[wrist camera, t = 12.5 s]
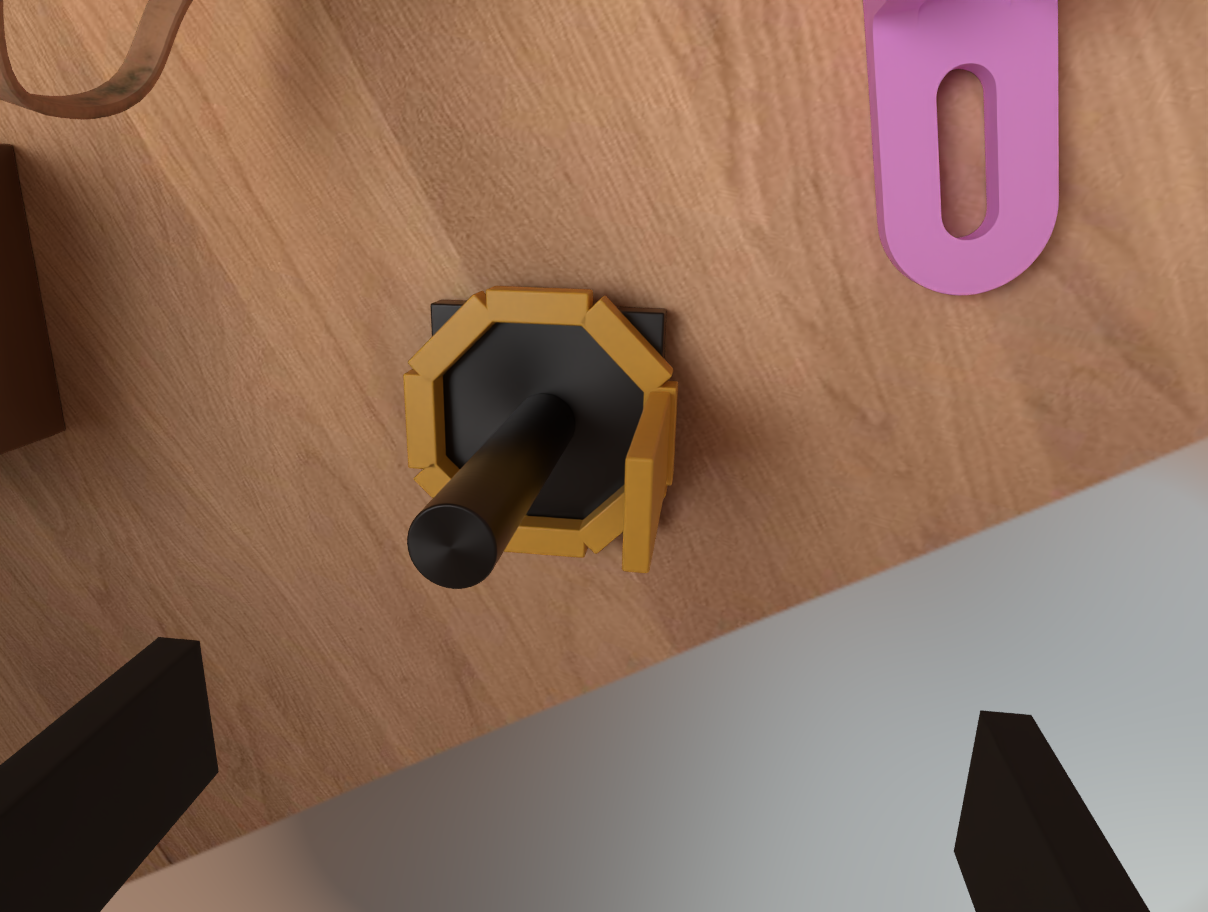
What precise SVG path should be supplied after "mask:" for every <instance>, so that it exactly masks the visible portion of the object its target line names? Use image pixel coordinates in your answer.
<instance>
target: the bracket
mask: <svg viewBox="0 0 1208 912" xmlns="http://www.w3.org/2000/svg"><path fill="white" fill-rule="evenodd" d="M863 6H864V21H865V37H866V52H867V68H868V83H869V99H870V114H871V130H872V145H873V161H874V176H875V192H876V207H877V223H878V231H879V236H880V240H881V243H882V246H883V248H884V250H885V252H886V254H887V256H888V258H889V259H890V261H891V262H892V263H893V265H894V266H895V267H896V268H897V269H898V270H899V271H900V272H901V273H902V274H903V275H905V276H906V277H907V278H909V279H910V280H912V281H914V282H916V283H918V284H920V285H922V286H924V287H926V288H928V289H931V290H933V291H936V292H940V293H944V294H950V295H971V294H978V293H982V292H986V291H989V290H992V289H995V288H997V287H1000V286H1002V285H1004V284H1006V283H1007V282H1009V281H1011V280H1013V279H1014V278H1015V277H1017V276H1018V275H1020V274H1021V273H1022V272H1023V271H1024V270H1026V269H1027V268H1028V267H1029V266H1030V265H1031V264H1032V263H1033V262H1034V261H1035V259H1036V258H1037V257H1038V256H1039V254H1040V253H1041V252H1042V250H1043V248H1044V247H1045V245H1046V244H1047V242H1048V240H1049V238H1050V236H1051V233H1052V231H1053V228H1054V225H1055V222H1056V218H1057V212H1058V203H1059V148H1058V0H863ZM954 69H964V70H968V71H970V72H972V73H973V74H975V75H976V76H977V77H978V78H979V80H980V81H981V84H982V86H983V91H984V120H985V156H986V191H987V212H986V216H985V219H984V221H983V223H982V224H981V225H980V227H979V228H978V229H977V230H976V231H974V232H973V233H971V234H970V235H968V236H965V237H961V238H955V237H953V236H952V235H950V234H949V233H948V232H947V231H946V229H945V228H944V226H943V223H942V218H941V197H940V174H939V151H938V128H937V105H936V95H937V90H938V87H939V84H940V82H941V80H942V79H943V77H944V76H945V75H946V74H947V73H948V72H949V71H950V70H954Z"/></svg>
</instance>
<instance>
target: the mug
mask: <svg viewBox="0 0 1208 912" xmlns="http://www.w3.org/2000/svg"><path fill="white" fill-rule="evenodd" d="M192 1H193V0H149V1H148V3H147V5H146V8H145V10H144V12H143V15H142V17H141V20H140V22H139V25H138V28H137V31H136V34H135V37H134V39H133V42H132V45H131V47H130V50H129V52H128V54H127V56H126V58H125V60H124V62H123V64H122V66H121V67H120V68H119V70H118V71H117V73H116V74H115V75H114V76H113V77H112V78H111V79H110V80H109V81H107V82H106V83H104V84H102V85H101V86H99V87H97V88H95V89H93V90H90V91H88V92H84V93H80V94H74V95H67V96H44V95H36V94H29V93H28V92H26V90H25V89H24V88H23V87H22V86H21V85H20V83H19V82H18V80H17V78H16V76H15V74H14V72H13V70H12V67H11V64H10V60H9V57H8V53H7V47H6V41H5V33H4V19H3V0H0V100H3V101H6V102H9V103H12V104H15V105H18V106H21V107H24V108H27V109H30V110H33V111H35V112H38V113H41V114H44V115H48V116H54V117H61V118H70V119H96V118H101V117H107V116H111V115H114V114H118V113H120V112H123V111H125V110H127V109H129V108H130V107H132V106H134V105H135V104H137V103H138V102H140V101H141V100H142V99H143V98H144V97H145V96H146V95H147V94H148V93H149V92H150V91H151V89H152V88H153V87H154V85H155V83H156V82H157V80H158V79H159V77H160V75H161V73H162V71H163V69H164V67H165V64H166V61H167V59H168V56H169V54H170V51H171V48H172V45H173V42H174V40H175V37H176V34H177V32H178V29H179V27H180V24H181V22H182V19H183V17H184V15H185V13H186V11H187V9H188V8H189V6H190V4H191V3H192Z"/></svg>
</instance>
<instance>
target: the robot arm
mask: <svg viewBox="0 0 1208 912" xmlns="http://www.w3.org/2000/svg"><path fill="white" fill-rule="evenodd" d="M218 772H219V771H218V764H217V757H216V750H215V743H214V737H213V730H212V723H211V716H210V709H209V703H208V696H207V689H206V682H205V675H204V668H203V662H202V655H201V648H200V641H196V640H185V639H174V638H163V637H158V638H157V639H156V640H155V641H153V642H152V643H151V644H150V645H148V646H147V647H146V648H145V649H143V650H142V651H141V652H140V653H138V654H137V655H136V656H135V657H134V658H132V659H131V660H130V661H129V662H127V663H126V664H125V665H124V666H122V667H121V668H120V669H119V670H117V671H116V672H115V673H114V674H113V675H111V676H110V677H109V678H108V679H106V680H105V681H104V682H103V683H101V684H100V685H99V686H98V687H96V688H95V689H94V690H93V691H92V692H90V693H89V694H88V695H87V696H85V697H84V698H83V699H82V700H80V701H79V702H78V703H77V704H75V705H74V706H73V707H72V708H70V709H69V710H68V711H67V712H66V713H64V714H63V715H62V716H61V717H59V718H58V719H57V720H56V721H54V722H53V723H52V724H51V725H49V726H48V727H47V728H46V729H45V730H43V731H42V732H41V733H40V734H38V735H37V736H36V737H35V738H33V739H32V740H31V741H30V742H28V743H27V744H26V745H25V746H24V747H22V748H21V749H20V750H19V751H17V752H16V753H15V754H14V755H12V756H11V757H10V758H9V759H7V760H6V761H5V762H4V763H2V764H1V765H0V912H100V911H101V910H102V909H103V907H104V906H105V905H106V904H107V903H108V902H109V901H110V899H111V898H112V897H113V896H114V895H115V893H116V892H117V891H118V890H119V889H120V888H121V886H122V885H123V884H124V883H125V882H126V881H127V879H128V878H129V877H130V876H131V875H132V873H133V872H134V871H135V870H136V869H137V868H138V866H139V865H140V864H141V863H142V862H143V860H144V859H145V858H146V857H147V856H148V855H149V853H150V852H151V851H152V850H153V849H154V848H155V846H156V845H157V844H158V843H159V842H160V840H161V839H162V838H163V837H164V836H165V835H166V833H167V832H168V831H169V830H170V829H171V827H172V826H173V825H174V824H175V823H176V822H177V820H178V819H179V818H180V817H181V816H182V814H183V813H184V812H185V811H186V810H187V809H188V807H189V806H190V805H191V804H192V803H193V802H194V800H195V799H196V798H197V797H198V796H199V794H200V793H201V792H202V791H203V790H204V789H205V787H206V786H207V785H208V784H209V783H210V781H211V780H212V779H213V778H214V777H215V776H216V774H217V773H218ZM954 853H955V856H956V859H957V861H958V864H959V867H960V869H961V872H962V875H963V878H964V881H965V883H966V886H967V889H968V892H969V894H970V897H971V900H972V903H973V905H974V908H975V911H976V912H1150V911H1149V909H1148V908H1147V906H1146V904H1145V903H1144V901H1143V899H1142V898H1141V896H1140V894H1139V893H1138V891H1137V889H1136V888H1135V886H1134V884H1133V883H1132V881H1131V879H1130V878H1129V876H1128V874H1127V873H1126V871H1125V869H1124V868H1123V866H1122V864H1121V863H1120V861H1119V860H1118V858H1117V856H1116V855H1115V853H1114V851H1113V849H1112V848H1111V846H1110V844H1109V843H1108V841H1107V840H1106V838H1105V836H1104V835H1103V833H1102V831H1101V830H1100V828H1099V826H1098V825H1097V823H1096V821H1095V820H1094V818H1093V816H1092V815H1091V813H1090V811H1089V810H1088V808H1087V806H1086V805H1085V803H1084V801H1083V800H1082V798H1081V796H1080V795H1079V793H1078V791H1077V790H1076V788H1075V786H1074V785H1073V783H1072V782H1071V780H1070V778H1069V777H1068V775H1067V773H1066V772H1065V770H1064V768H1063V767H1062V765H1061V763H1060V762H1059V760H1058V758H1057V757H1056V755H1055V753H1054V752H1053V750H1052V749H1051V747H1050V745H1049V743H1048V742H1047V740H1046V739H1045V737H1044V735H1043V734H1042V732H1041V730H1040V729H1039V727H1038V725H1037V724H1036V722H1035V720H1034V719H1033V717H1032V716H1031V715H1025V714H1014V713H1003V712H991V711H980V715H979V720H978V726H977V731H976V737H975V742H974V747H973V752H972V758H971V763H970V768H969V774H968V779H967V784H966V789H965V795H964V800H963V805H962V810H961V816H960V821H959V827H958V832H957V837H956V842H955V848H954Z"/></svg>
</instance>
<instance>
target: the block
mask: <svg viewBox="0 0 1208 912" xmlns="http://www.w3.org/2000/svg"><path fill="white" fill-rule="evenodd" d="M63 431H65V425H64V420H63V415H62V409H61V404H60V399H59V393H58V388H57V382H56V377H55V372H54V366H53V361H52V356H51V350H50V345H49V340H48V334H47V329H46V324H45V318H44V313H43V307H42V302H41V297H40V291H39V286H38V281H37V275H36V270H35V265H34V259H33V254H32V248H31V243H30V238H29V232H28V227H27V222H26V216H25V211H24V206H23V200H22V195H21V190H20V184H19V179H18V173H17V168H16V163H15V157H14V152H13V147H12V145H10V144H1V143H0V455H1V454H3V453H6V452H9V451H12V450H14V449H17V448H20V447H22V446H25V445H28V444H31V443H33V442H36V441H39V440H41V439H44V438H47V437H50V436H52V435H55V434H58V433H60V432H63Z"/></svg>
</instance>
